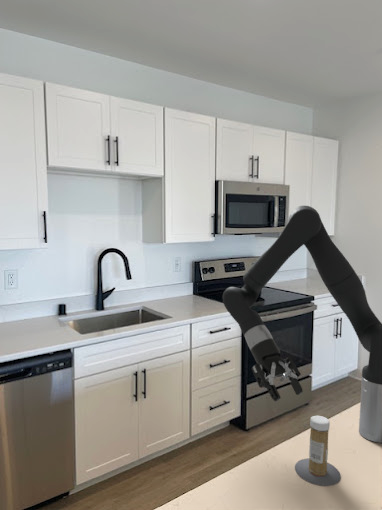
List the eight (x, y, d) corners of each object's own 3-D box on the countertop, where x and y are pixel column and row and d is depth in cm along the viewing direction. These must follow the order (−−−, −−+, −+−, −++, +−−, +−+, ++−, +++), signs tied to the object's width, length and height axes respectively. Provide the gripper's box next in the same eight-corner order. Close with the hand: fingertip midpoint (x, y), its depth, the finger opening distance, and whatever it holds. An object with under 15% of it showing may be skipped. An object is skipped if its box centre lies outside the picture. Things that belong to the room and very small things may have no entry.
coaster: (314, 454, 105) (314, 453, 105) (350, 476, 95) (350, 476, 95) (285, 466, 99) (285, 466, 99) (321, 491, 89) (321, 491, 89)
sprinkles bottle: (330, 473, 96) (333, 420, 96) (319, 479, 94) (321, 425, 93) (315, 463, 100) (318, 413, 99) (304, 469, 98) (306, 417, 97)
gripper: (249, 340, 108) (277, 396, 99) (285, 334, 115) (315, 385, 106) (236, 354, 112) (262, 408, 103) (272, 347, 120) (299, 397, 111)
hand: (289, 396), depth 105 cm, fingers open, 8 cm apart
